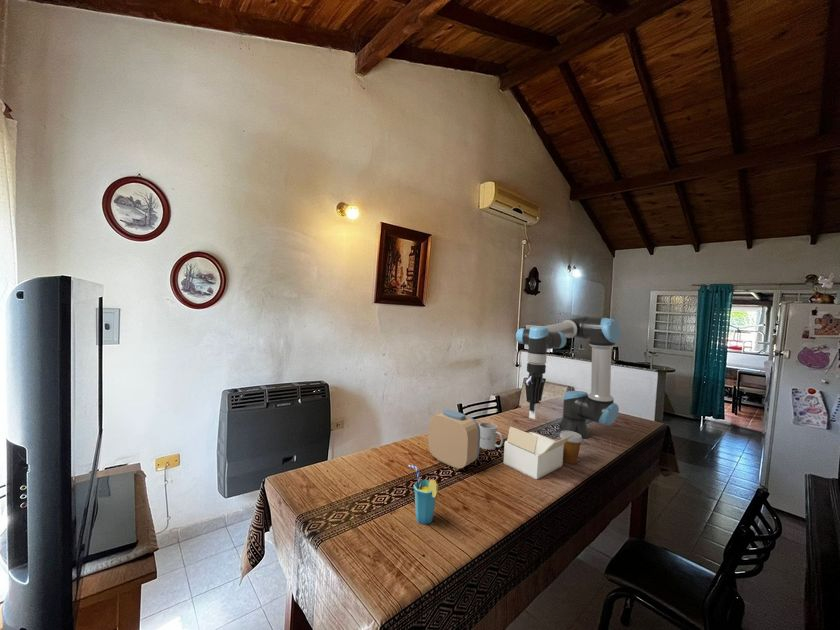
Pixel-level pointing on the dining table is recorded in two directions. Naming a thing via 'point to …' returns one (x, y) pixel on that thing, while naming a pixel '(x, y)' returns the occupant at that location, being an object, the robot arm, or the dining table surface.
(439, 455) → the alarm clock
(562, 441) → the long flap
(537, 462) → the carton
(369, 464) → the dining table surface
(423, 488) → the cup
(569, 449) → the disposable coffee cup
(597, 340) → the robot arm
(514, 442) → the short flap
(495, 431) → the mug
